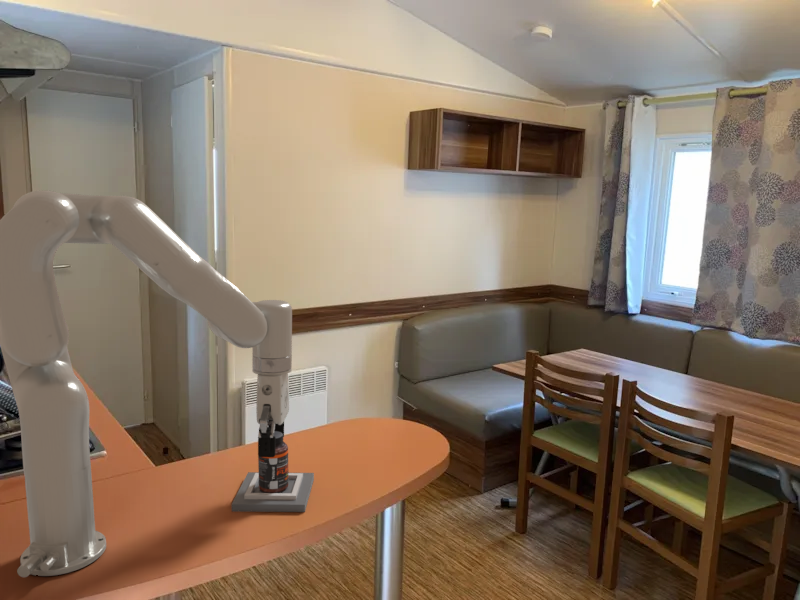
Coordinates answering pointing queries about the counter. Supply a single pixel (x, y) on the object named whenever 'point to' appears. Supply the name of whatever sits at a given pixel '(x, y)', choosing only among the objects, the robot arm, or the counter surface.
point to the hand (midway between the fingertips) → (271, 446)
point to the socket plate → (274, 495)
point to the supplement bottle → (274, 468)
